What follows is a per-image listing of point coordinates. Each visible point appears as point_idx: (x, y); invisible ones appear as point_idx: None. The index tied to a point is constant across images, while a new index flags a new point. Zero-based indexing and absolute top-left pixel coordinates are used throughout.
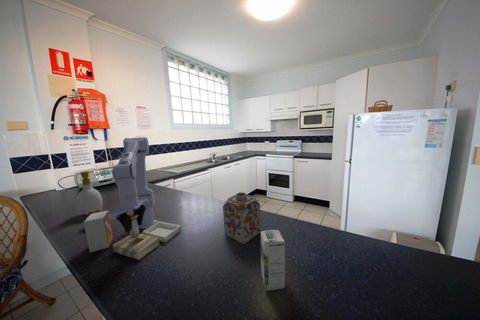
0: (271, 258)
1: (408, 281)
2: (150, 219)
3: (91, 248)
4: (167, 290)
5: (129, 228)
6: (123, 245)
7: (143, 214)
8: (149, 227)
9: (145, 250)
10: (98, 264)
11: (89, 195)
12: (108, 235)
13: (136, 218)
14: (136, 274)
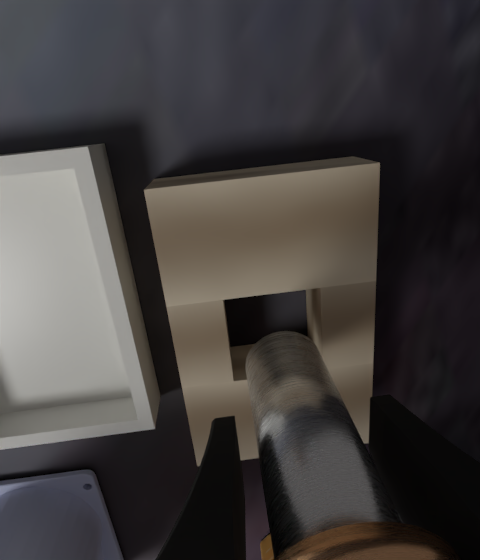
0: None
1: None
2: (6, 531)
3: (402, 522)
4: None
5: (408, 418)
6: (350, 370)
7: (170, 544)
8: (79, 436)
9: (299, 166)
10: (456, 366)
11: None
12: None
13: (309, 521)
14: (472, 10)
